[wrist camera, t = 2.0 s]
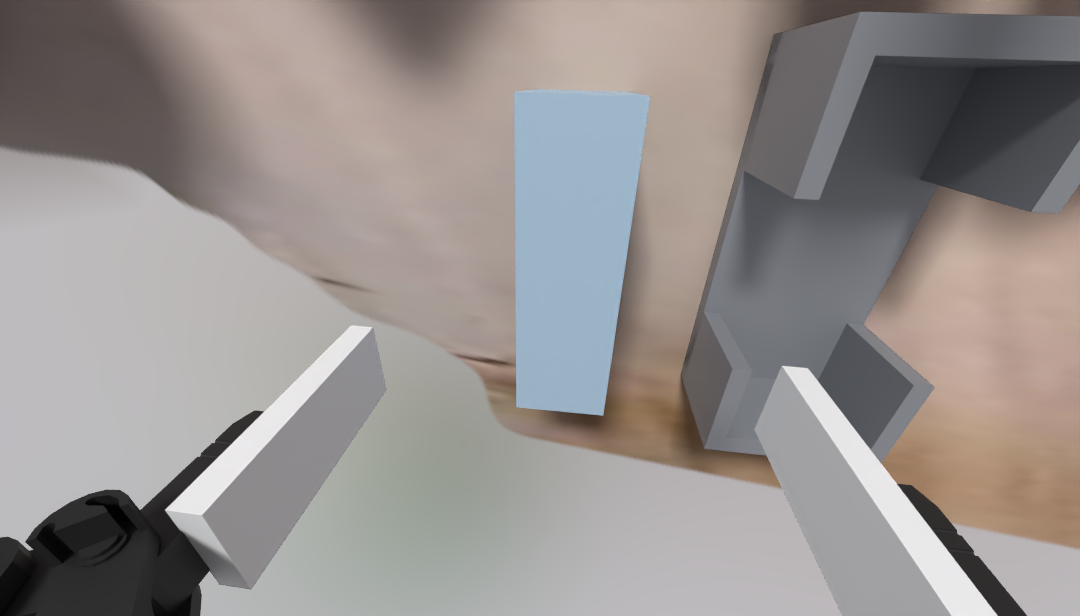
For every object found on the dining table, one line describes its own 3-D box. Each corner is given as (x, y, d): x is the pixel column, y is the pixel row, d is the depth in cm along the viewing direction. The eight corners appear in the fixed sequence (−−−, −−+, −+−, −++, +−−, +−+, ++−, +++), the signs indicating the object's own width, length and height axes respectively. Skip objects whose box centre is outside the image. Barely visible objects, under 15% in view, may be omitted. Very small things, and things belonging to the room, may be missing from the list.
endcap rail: (680, 374, 30) (704, 448, 24) (773, 34, 19) (860, 11, 13) (817, 387, 29) (877, 467, 23) (995, 40, 18) (1197, 18, 12)
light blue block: (533, 331, 29) (516, 407, 23) (538, 89, 21) (514, 92, 15) (599, 336, 29) (603, 415, 22) (629, 92, 21) (650, 96, 14)
